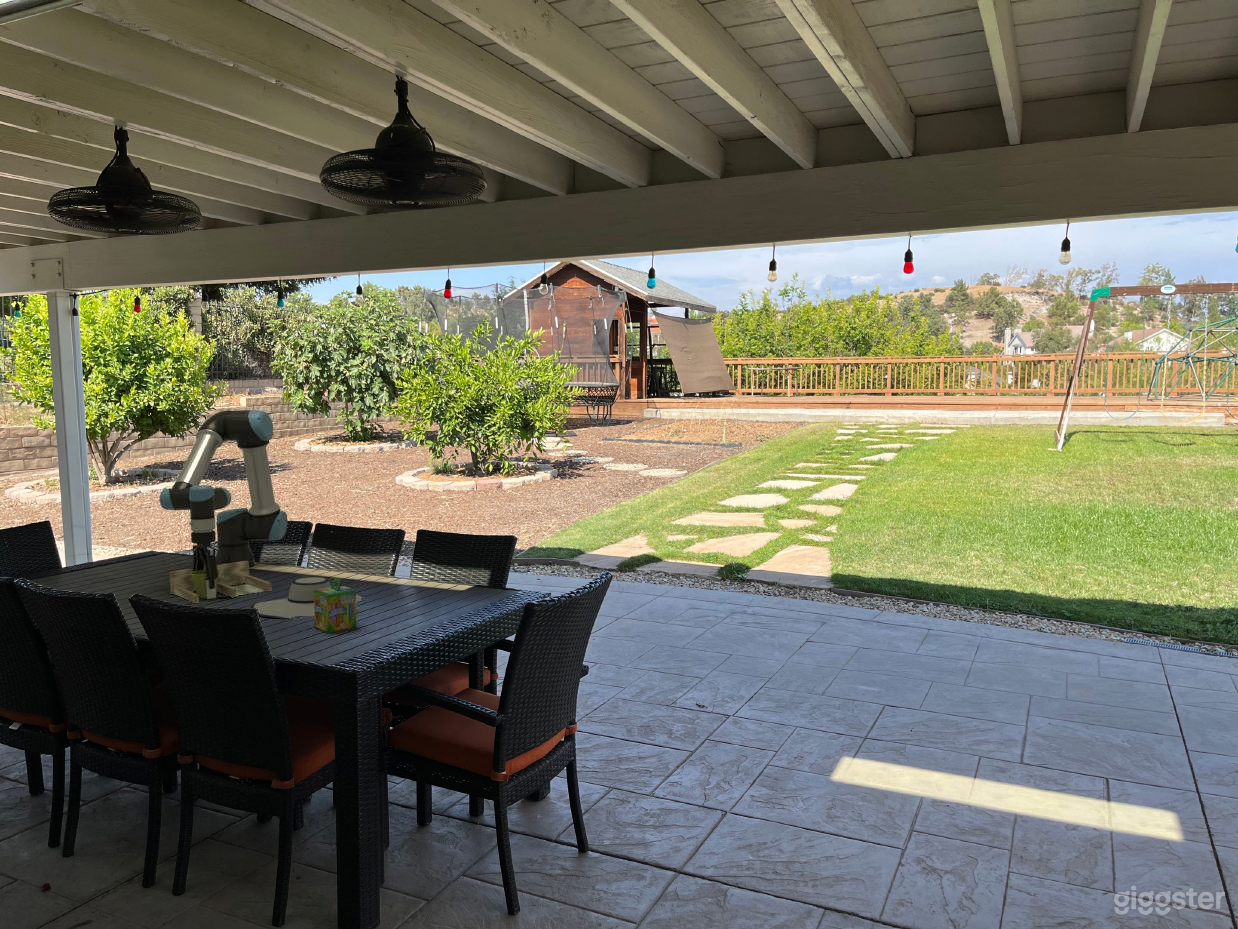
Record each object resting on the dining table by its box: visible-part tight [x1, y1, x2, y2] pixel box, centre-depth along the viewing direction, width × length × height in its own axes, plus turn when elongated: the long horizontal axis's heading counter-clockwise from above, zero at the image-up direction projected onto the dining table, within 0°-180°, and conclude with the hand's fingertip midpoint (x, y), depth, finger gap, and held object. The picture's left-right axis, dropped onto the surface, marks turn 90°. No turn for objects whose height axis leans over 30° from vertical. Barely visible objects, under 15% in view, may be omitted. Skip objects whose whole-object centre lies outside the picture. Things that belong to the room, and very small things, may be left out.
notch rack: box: [169, 561, 273, 604], centre depth 301 cm, size 27×21×8 cm
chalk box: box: [313, 576, 357, 634], centre depth 254 cm, size 9×9×15 cm
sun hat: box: [250, 576, 363, 620], centre depth 283 cm, size 36×36×9 cm
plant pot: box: [190, 569, 220, 599], centre depth 295 cm, size 9×9×9 cm
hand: (206, 595), depth 296 cm, fingers open, 9 cm apart
